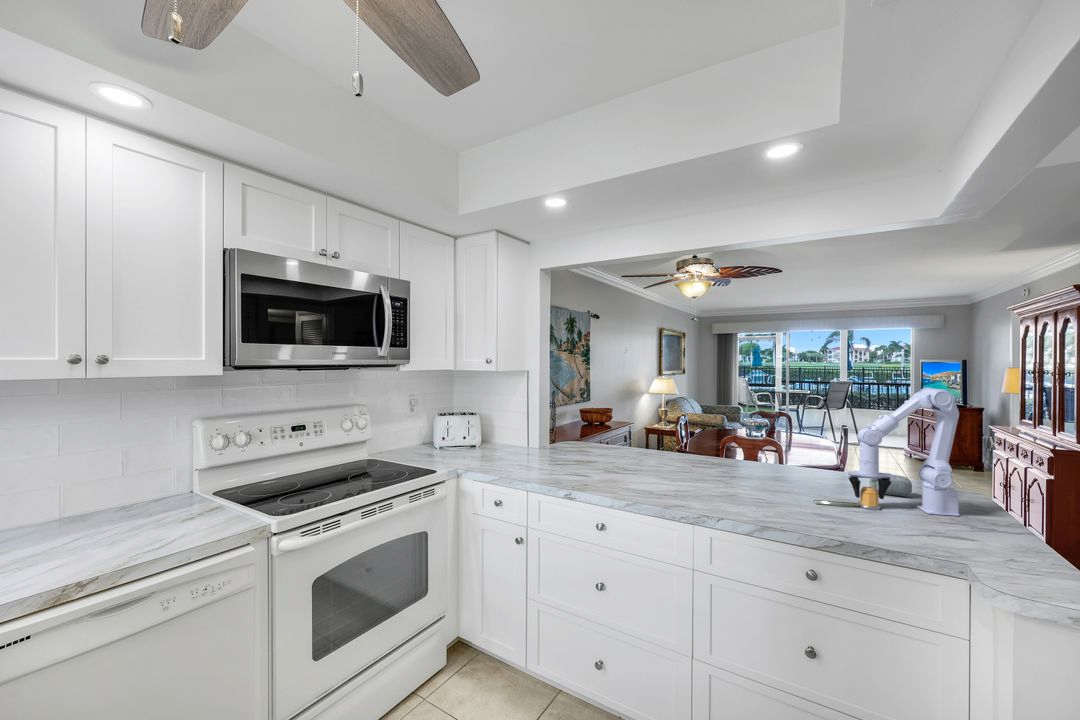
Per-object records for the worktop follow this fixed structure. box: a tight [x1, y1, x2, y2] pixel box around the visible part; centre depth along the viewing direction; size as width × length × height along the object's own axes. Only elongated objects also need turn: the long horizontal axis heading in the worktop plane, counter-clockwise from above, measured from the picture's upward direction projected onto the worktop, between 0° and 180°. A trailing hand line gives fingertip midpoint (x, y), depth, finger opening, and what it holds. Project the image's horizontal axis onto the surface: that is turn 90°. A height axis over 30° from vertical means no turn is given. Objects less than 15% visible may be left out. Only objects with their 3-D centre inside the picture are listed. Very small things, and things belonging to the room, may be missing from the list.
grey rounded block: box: [869, 474, 913, 498], centre depth 184 cm, size 14×10×10 cm
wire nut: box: [859, 486, 879, 507], centre depth 170 cm, size 5×5×6 cm
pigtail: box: [813, 499, 882, 511], centre depth 172 cm, size 21×7×4 cm, turn 75°
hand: (869, 497), depth 170 cm, fingers open, 7 cm apart
